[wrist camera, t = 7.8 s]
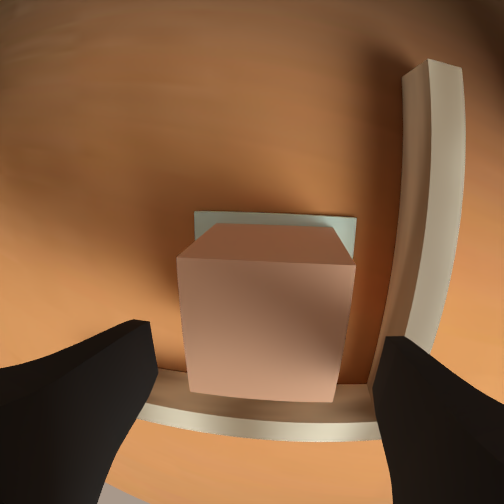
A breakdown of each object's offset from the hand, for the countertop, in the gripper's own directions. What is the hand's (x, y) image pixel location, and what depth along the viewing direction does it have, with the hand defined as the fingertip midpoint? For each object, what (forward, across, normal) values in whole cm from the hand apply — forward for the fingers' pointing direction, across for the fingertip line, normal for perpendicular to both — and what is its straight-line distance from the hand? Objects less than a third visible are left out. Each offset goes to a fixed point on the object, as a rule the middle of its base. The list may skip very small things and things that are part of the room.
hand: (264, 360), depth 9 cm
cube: (+5, 0, 0) cm, 5 cm away
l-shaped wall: (+6, +1, -1) cm, 6 cm away
